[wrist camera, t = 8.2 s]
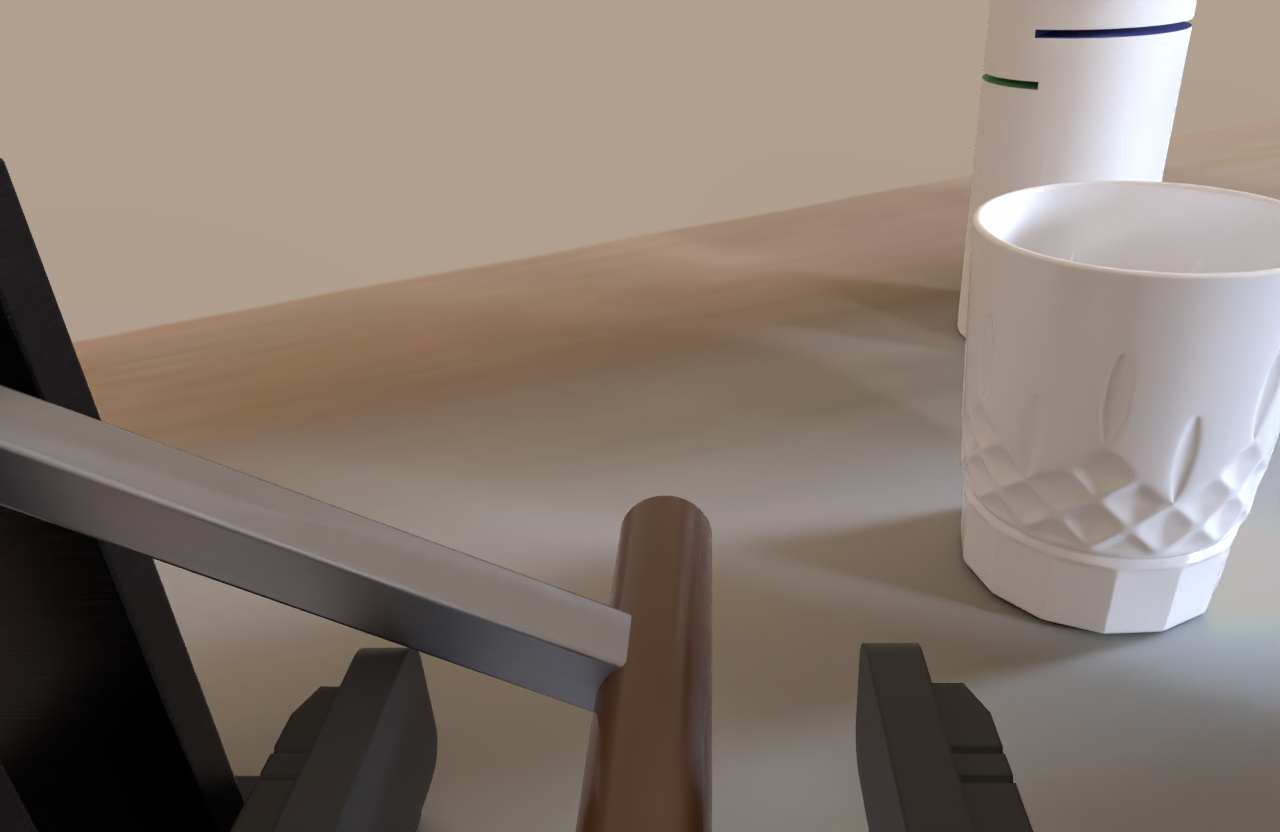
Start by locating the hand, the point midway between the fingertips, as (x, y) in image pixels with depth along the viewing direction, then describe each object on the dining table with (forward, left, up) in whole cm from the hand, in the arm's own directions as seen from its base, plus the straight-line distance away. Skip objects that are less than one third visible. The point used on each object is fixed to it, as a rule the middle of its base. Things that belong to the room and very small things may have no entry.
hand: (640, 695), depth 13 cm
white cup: (-11, -13, -8) cm, 19 cm away
